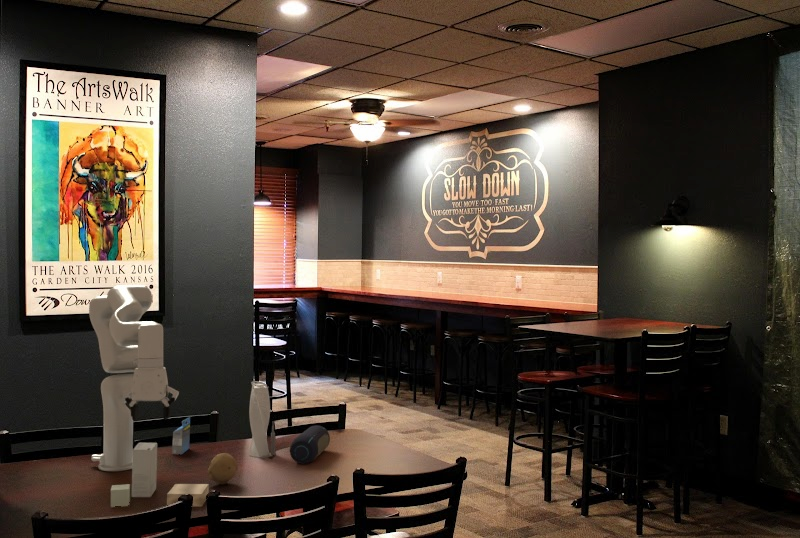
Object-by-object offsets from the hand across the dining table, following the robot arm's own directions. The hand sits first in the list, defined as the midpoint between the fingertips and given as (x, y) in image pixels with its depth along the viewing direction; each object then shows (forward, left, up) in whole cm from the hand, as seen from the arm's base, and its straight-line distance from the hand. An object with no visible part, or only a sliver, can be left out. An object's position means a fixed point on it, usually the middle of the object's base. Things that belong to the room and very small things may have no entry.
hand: (150, 419), depth 242 cm
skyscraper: (+27, +45, -23) cm, 57 cm away
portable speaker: (+46, +43, -23) cm, 66 cm away
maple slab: (+14, -9, -23) cm, 28 cm away
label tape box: (-3, +50, -23) cm, 55 cm away
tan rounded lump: (+21, +8, -23) cm, 32 cm away
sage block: (-5, -12, -23) cm, 26 cm away
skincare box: (-1, -2, -23) cm, 23 cm away
